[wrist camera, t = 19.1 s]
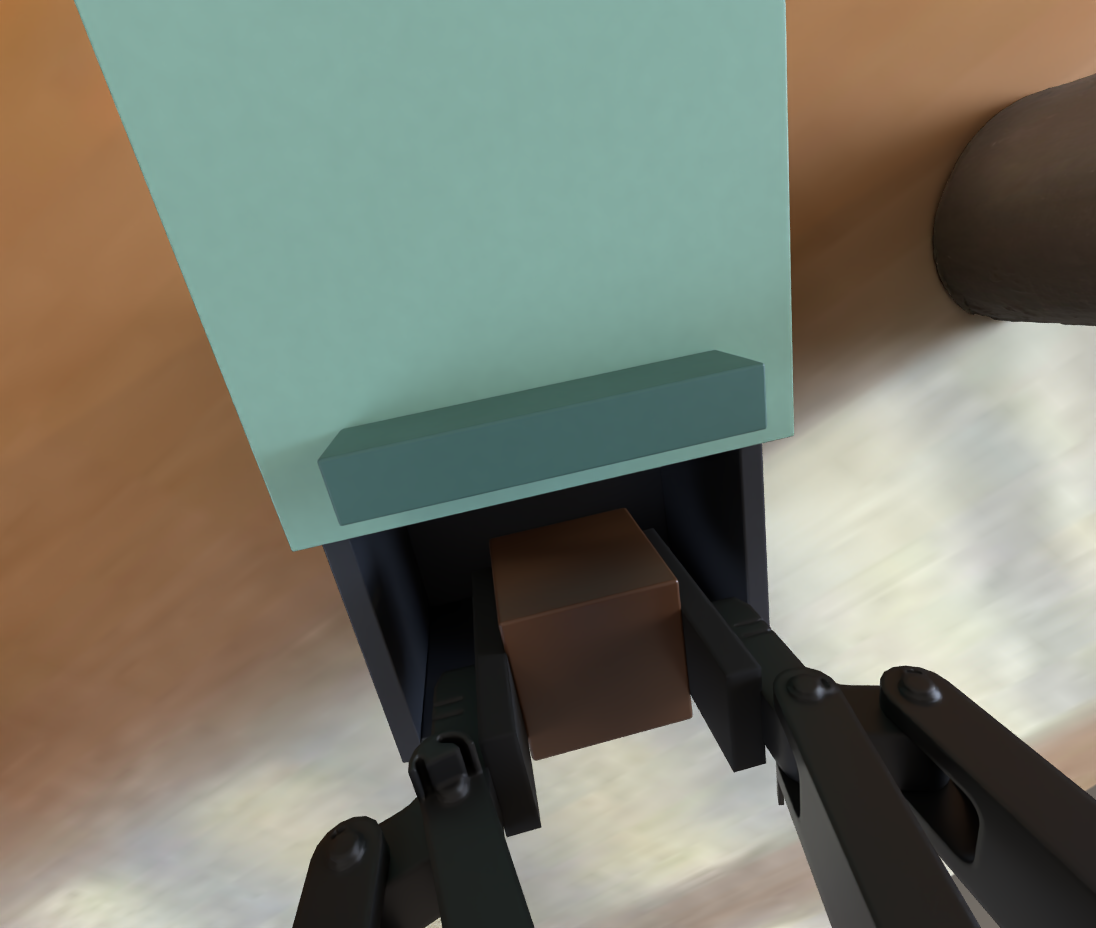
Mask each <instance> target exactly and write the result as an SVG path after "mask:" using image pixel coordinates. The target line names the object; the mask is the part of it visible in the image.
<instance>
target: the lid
mask: <svg viewBox="0 0 1096 928" xmlns="http://www.w3.org/2000/svg"><path fill="white" fill-rule="evenodd" d="M74 2H75V4H76V7H77V9H78V12H79V14H80V17H81V19H82V22H83V24H84V27H85V29H86V32H87V34H88V37H89V39H90V42H91V45H92V47H93V50H94V52H95V55H96V57H97V60H98V62H99V65H100V67H101V70H102V72H103V75H104V77H105V80H106V82H107V85H108V87H109V90H110V93H111V95H112V98H113V100H114V103H115V105H116V108H117V110H118V113H119V115H120V118H121V120H122V123H123V125H124V128H125V130H126V133H127V135H128V138H129V140H130V143H131V146H132V148H133V151H134V153H135V156H136V158H137V161H138V163H139V166H140V168H141V171H142V173H143V176H144V178H145V181H146V183H147V186H148V188H149V191H150V194H151V196H152V199H153V201H154V204H155V206H156V209H157V211H158V214H159V216H160V219H161V221H162V224H163V226H164V229H165V231H166V234H167V236H168V239H169V242H170V244H171V247H172V249H173V252H174V254H175V257H176V259H177V262H178V264H179V267H180V269H181V272H182V274H183V277H184V279H185V282H186V284H187V287H188V290H189V292H190V295H191V297H192V300H193V302H194V305H195V307H196V310H197V312H198V315H199V317H200V320H201V322H202V325H203V327H204V330H205V332H206V335H207V338H208V340H209V343H210V345H211V348H212V350H213V353H214V355H215V358H216V360H217V363H218V365H219V368H220V370H221V373H222V375H223V378H224V380H225V383H226V386H227V388H228V391H229V393H230V396H231V398H232V401H233V403H234V406H235V408H236V411H237V413H238V416H239V418H240V421H241V423H242V426H243V428H244V431H245V434H246V436H247V439H248V441H249V444H250V446H251V449H252V451H253V454H254V456H255V459H256V461H257V464H258V466H259V469H260V471H261V474H262V476H263V479H264V482H265V484H266V487H267V489H268V492H269V494H270V497H271V499H272V502H273V504H274V507H275V509H276V512H277V514H278V517H279V519H280V522H281V524H282V527H283V529H284V532H285V535H286V537H287V540H288V542H289V545H290V547H291V550H292V551H298V550H302V549H307V548H311V547H315V546H320V545H324V544H328V543H333V542H337V541H341V540H346V539H350V538H354V537H359V536H363V535H367V534H371V533H376V532H380V531H384V530H389V529H393V528H397V527H402V526H406V525H410V524H415V523H419V522H423V521H428V520H432V519H436V518H441V517H445V516H449V515H454V514H458V513H462V512H467V511H471V510H475V509H480V508H484V507H488V506H493V505H497V504H501V503H506V502H510V501H514V500H518V499H523V498H527V497H531V496H536V495H540V494H544V493H549V492H553V491H557V490H562V489H566V488H570V487H575V486H579V485H583V484H588V483H592V482H596V481H601V480H605V479H609V478H614V477H618V476H622V475H627V474H631V473H635V472H640V471H644V470H648V469H652V468H657V467H661V466H665V465H670V464H674V463H678V462H683V461H687V460H691V459H696V458H700V457H704V456H709V455H713V454H717V453H722V452H726V451H730V450H735V449H739V448H743V447H748V446H752V445H756V444H761V443H765V442H769V441H774V440H778V439H782V438H786V437H791V436H794V414H793V363H792V312H791V261H790V210H789V159H788V108H787V57H786V6H785V0H74Z"/></svg>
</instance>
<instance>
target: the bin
mask: <svg viewBox="0 0 1096 928" xmlns="http://www.w3.org/2000/svg"><path fill="white" fill-rule="evenodd" d="M620 508H626V509H627V511H628V512H629V513H630V515H631V516H632V518H633V519H634V520H635V522H636V523H637V524H638V526H639V527H640V529H641V530H642V531H643V530H647V529H651V528H654V530H655V531H656V532H657V533H658V535H659V536H660V537H661V539H662V540H663V541H664V542H665V544H666V545H667V546H668V548H669V549H670V550H671V551H672V553H673V554H674V555H675V557H676V558H677V559H678V560H679V562H680V563H681V564H682V566H683V567H684V568H685V569H686V571H687V572H688V573H689V575H690V576H691V577H692V578H693V580H694V581H695V582H696V584H697V585H698V586H699V587H700V589H701V590H702V591H703V593H704V594H705V595H706V596H707V598H708V599H709V600H710V602H714V601H718V600H722V599H726V598H729V597H733V596H734V597H736V598H738V599H740V600H742V601H743V602H745V603H747V604H749V605H751V606H752V607H753V609H754V610H755V611H756V612H757V613H758V614H759V615H760V616H761V618H762V620H764V621H765V622H766V623H767V624H768V625H769V627H770V624H769V600H768V576H767V552H766V529H765V505H764V481H763V457H762V443H761V444H756V445H752V446H748V447H743V448H739V449H735V450H730V451H726V452H722V453H717V454H713V455H709V456H704V457H700V458H696V459H691V460H687V461H683V462H678V463H674V464H670V465H665V466H661V467H657V468H652V469H648V470H644V471H640V472H635V473H631V474H627V475H622V476H618V477H614V478H609V479H605V480H601V481H596V482H592V483H588V484H583V485H579V486H575V487H570V488H566V489H562V490H557V491H553V492H549V493H544V494H540V495H536V496H531V497H527V498H523V499H518V500H514V501H510V502H506V503H501V504H497V505H493V506H488V507H484V508H480V509H475V510H471V511H467V512H462V513H458V514H454V515H449V516H445V517H441V518H436V519H432V520H428V521H423V522H419V523H415V524H410V525H406V526H402V527H397V528H393V529H389V530H384V531H380V532H376V533H371V534H367V535H363V536H359V537H354V538H350V539H346V540H341V541H337V542H333V543H328V544H324V545H322V546H323V549H324V551H325V554H326V557H327V559H328V562H329V565H330V567H331V570H332V573H333V575H334V578H335V581H336V583H337V586H338V589H339V592H340V594H341V597H342V600H343V602H344V605H345V608H346V610H347V613H348V616H349V618H350V621H351V624H352V627H353V629H354V632H355V635H356V637H357V640H358V643H359V645H360V648H361V651H362V653H363V656H364V659H365V662H366V664H367V667H368V670H369V672H370V675H371V678H372V680H373V683H374V686H375V688H376V691H377V694H378V696H379V699H380V702H381V705H382V707H383V710H384V713H385V715H386V718H387V721H388V723H389V726H390V729H391V731H392V734H393V737H394V740H395V742H396V745H397V748H398V750H399V753H400V756H401V758H402V761H403V763H405V762H409V760H410V758H411V756H412V754H413V752H414V750H415V749H416V748H417V747H418V746H419V745H420V744H421V742H422V741H423V740H425V739H426V738H428V737H430V736H431V728H432V721H433V720H432V712H433V695H434V687H435V685H436V683H437V682H438V680H439V678H440V676H441V674H442V672H445V671H449V670H453V669H457V668H461V667H464V666H468V665H472V664H475V650H474V627H473V604H472V581H471V572H472V571H476V570H481V569H485V568H489V567H492V565H491V557H490V548H489V540H490V539H492V538H496V537H501V536H505V535H509V534H513V533H518V532H522V531H526V530H530V529H535V528H539V527H543V526H548V525H552V524H556V523H560V522H565V521H569V520H573V519H577V518H582V517H586V516H590V515H594V514H599V513H603V512H607V511H612V510H616V509H620Z"/></svg>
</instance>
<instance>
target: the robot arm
mask: <svg viewBox="0 0 1096 928" xmlns="http://www.w3.org/2000/svg"><path fill="white" fill-rule="evenodd" d="M643 533H644V534H645V535H646V537H647V538H648V540H649V541H650V542H651V544H652V545H653V547H654V548H655V549H656V551H657V552H658V553H659V555H660V556H661V558H662V559H663V560H664V562H665V563H666V565H667V566H668V567H669V569H670V570H671V571H672V573H673V574H674V576H675V577H676V578H677V580H678V583H679V593H680V602H681V613H682V623H683V632H684V641H685V650H686V660H687V669H688V678H689V688H690V694H691V696H692V698H693V700H694V702H695V703H696V705H697V707H698V709H699V711H700V712H701V714H702V716H703V718H704V720H705V721H706V723H707V725H708V727H709V729H710V730H711V732H712V734H713V736H714V738H715V739H716V741H717V743H718V745H719V747H720V748H721V750H722V752H723V754H724V756H725V757H726V759H727V761H728V763H729V765H730V766H731V768H732V770H733V772H737V771H741V770H744V769H748V768H751V767H755V766H758V765H762V764H765V763H766V755H765V745H766V747H767V748H768V750H769V751H770V753H771V754H772V756H773V757H774V759H775V761H776V772H777V796H778V803H779V805H784V798H785V801H786V804H787V807H788V809H789V812H790V815H791V817H792V820H793V823H794V826H795V828H796V831H797V834H798V836H799V839H800V842H801V845H802V847H803V850H804V853H805V856H806V858H807V861H808V864H809V866H810V869H811V872H812V875H813V877H814V880H815V883H816V885H817V888H818V891H819V894H820V896H821V899H822V902H823V904H824V907H825V910H826V913H827V915H828V918H829V921H830V924H831V926H832V928H981V927H980V925H979V924H978V922H977V920H976V919H975V917H974V915H973V913H972V912H971V910H970V908H969V906H968V905H967V903H966V901H965V900H964V898H963V896H962V895H961V893H960V891H959V890H958V888H957V886H956V884H955V883H954V881H953V879H952V878H951V876H950V874H949V873H948V871H947V869H946V867H945V866H944V864H943V862H942V861H941V859H940V857H941V858H942V860H943V861H944V862H945V863H946V864H947V866H948V867H949V868H950V869H951V870H952V871H953V873H954V874H955V875H956V876H957V877H958V878H959V879H960V881H961V882H962V883H963V884H964V885H965V887H966V888H967V889H968V890H969V891H970V893H971V894H972V895H973V896H974V897H975V898H976V900H978V902H979V903H980V904H981V905H982V907H983V908H984V909H985V910H986V911H987V912H988V914H989V915H990V916H991V917H992V918H993V920H994V921H995V922H996V923H997V924H998V925H999V927H1000V928H1096V800H1095V799H1094V798H1093V797H1092V796H1090V795H1089V794H1088V793H1087V792H1085V791H1084V790H1083V789H1082V788H1080V787H1079V786H1078V785H1077V784H1075V783H1074V782H1073V781H1072V780H1070V779H1069V778H1068V777H1067V776H1065V775H1064V774H1063V773H1062V772H1060V771H1059V770H1058V769H1057V768H1055V767H1054V766H1053V765H1052V764H1050V763H1049V762H1048V761H1047V760H1046V759H1044V758H1043V757H1042V756H1041V755H1039V754H1038V753H1037V752H1036V751H1034V750H1033V749H1032V748H1031V747H1029V746H1028V745H1027V744H1026V743H1024V742H1023V741H1022V740H1021V739H1019V738H1018V737H1017V736H1016V735H1014V734H1013V733H1012V732H1011V731H1009V730H1008V729H1007V728H1006V727H1004V726H1003V725H1002V724H1001V723H1000V722H998V721H997V720H996V719H995V718H993V717H992V716H991V715H990V714H988V713H987V712H986V711H985V710H983V709H982V708H981V707H980V706H978V705H977V704H976V703H975V702H973V701H972V700H971V699H970V698H968V697H967V696H966V695H965V694H963V693H962V692H961V691H960V690H958V689H957V688H956V687H955V686H953V685H952V684H951V683H950V682H949V681H947V680H946V679H944V678H942V677H941V676H939V675H938V674H936V673H934V672H931V671H928V670H926V669H923V668H920V667H912V666H899V667H893V668H891V669H889V670H887V671H885V672H884V673H883V675H882V677H881V679H880V686H870V685H841V684H837V683H835V681H834V680H833V679H832V678H831V677H829V676H827V675H826V674H824V673H822V672H821V671H818V670H814V669H811V668H806V667H805V666H804V665H803V664H802V663H801V661H800V660H799V659H798V658H797V657H796V656H795V655H794V654H793V652H792V651H791V650H790V649H789V648H788V647H787V646H786V645H785V643H784V642H783V641H782V640H781V639H780V638H779V637H778V636H777V634H776V633H775V632H774V631H773V630H771V628H770V627H769V625H768V624H767V623H766V622H765V621H764V620H762V618H761V616H760V615H759V614H758V613H757V612H756V611H755V610H754V609H753V607H752V606H751V605H749V604H747V603H745V602H743V601H742V600H740V599H738V598H736V597H734V596H733V597H729V598H726V599H722V600H718V601H714V602H710V600H709V599H708V598H707V596H706V595H705V594H704V593H703V591H702V590H701V589H700V587H699V586H698V585H697V584H696V582H695V581H694V580H693V578H692V577H691V576H690V575H689V573H688V572H687V571H686V569H685V568H684V567H683V566H682V564H681V563H680V562H679V560H678V559H677V558H676V557H675V555H674V554H673V553H672V551H671V550H670V549H669V548H668V546H667V545H666V544H665V542H664V541H663V540H662V539H661V537H660V536H659V535H658V533H657V532H656V531H655V530H654V528H651V529H647V530H643ZM471 581H472V604H473V627H474V650H475V664H472V665H468V666H464V667H461V668H457V669H453V670H449V671H445V672H442V674H441V676H440V678H439V680H438V682H437V683H436V685H435V687H434V695H433V712H432V720H433V721H432V728H431V736H430V737H428V738H426V739H425V740H423V741H422V742H421V744H420V745H419V746H418V747H417V748H416V749H415V750H414V752H413V754H412V756H411V758H410V760H409V768H408V773H409V776H410V778H411V781H412V784H413V787H414V789H415V792H416V795H417V797H416V798H415V799H414V800H413V801H412V802H411V803H410V804H409V805H408V806H407V807H405V808H404V809H403V810H401V811H400V812H398V813H397V814H395V815H393V816H392V817H390V818H388V819H387V820H385V821H383V822H381V823H380V824H378V823H377V822H376V820H374V819H371V818H369V817H367V816H362V817H353V818H350V819H348V820H346V821H343V822H341V823H339V824H338V825H337V826H336V827H334V828H333V829H332V830H330V831H329V832H328V833H327V834H326V835H325V836H324V838H323V839H322V840H321V841H320V843H319V844H318V845H317V847H316V849H315V851H314V854H313V856H312V858H311V861H310V864H309V868H308V872H307V875H306V879H305V883H304V887H303V890H302V894H301V898H300V901H299V905H298V909H297V912H296V916H295V920H294V924H293V927H292V928H425V927H426V926H428V925H429V924H431V923H432V922H434V921H435V920H436V919H438V918H439V917H441V922H442V928H534V925H533V922H532V919H531V916H530V913H529V910H528V907H527V904H526V901H525V898H524V895H523V892H522V888H521V885H520V882H519V879H518V876H517V873H516V870H515V867H514V864H513V861H512V858H511V855H510V852H509V849H508V846H507V843H506V840H505V837H504V829H505V833H506V836H507V837H509V836H513V835H516V834H520V833H523V832H527V831H530V830H534V829H537V828H541V822H540V815H539V809H538V802H537V795H536V789H535V782H534V775H533V769H532V762H531V756H530V749H529V742H528V737H527V733H526V729H525V725H524V721H523V717H522V713H521V709H520V705H519V701H518V697H517V694H516V690H515V686H514V682H513V678H512V674H511V670H510V666H509V662H508V658H507V654H506V652H505V650H504V646H503V642H502V638H501V634H500V630H499V626H498V618H497V609H496V600H495V592H494V583H493V574H492V567H489V568H485V569H481V570H476V571H472V572H471ZM938 855H939V856H940V857H939V856H938Z"/></svg>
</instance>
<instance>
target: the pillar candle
mask: <svg viewBox="0 0 1096 928" xmlns="http://www.w3.org/2000/svg"><path fill="white" fill-rule="evenodd" d="M934 231H935V232H934V235H933V245H934V253H935V256H934V259H935V261H936V262H937V266H936V267H937V268H938V273H939V275H940V278H941V280H942V282H943V285H944V287H945V289H946V290H947V291H948V292H949V293H950V294H951V297H953V298H954V300H955V301H956V303H957V304H958V305H959V306H960V307H962V308H963V309H964V310H966V312H968V313H970V314H973V315H974V314H979V315H982V316H983V315H986V316H989V317H991V318H992V319H996V320H1001V321H1011V322H1036V323H1061V324H1064V325H1086V326H1096V74H1093V75H1090V76H1088V77H1085V78H1081V79H1078V80H1076V81H1073V82H1070V83H1067V84H1063V85H1060V86H1057V87H1052V88H1048V89H1046V90H1043V91H1040V92H1038V93H1035V94H1032V95H1029V96H1026V97H1024V98H1022V99H1020V100H1018V101H1017V102H1015V103H1013V104H1011V105H1010V106H1008V107H1007V108H1005V109H1004V110H1002V111H1001V112H999V113H998V114H997V115H995V116H994V117H993V118H992V119H991V120H990V121H989V122H987V123H986V125H985V126H984V127H983V128H981V129H980V131H979V132H978V133H977V134H976V135H975V136H974V137H973V138H972V140H971V141H970V142H969V143H968V145H967V146H966V148H965V150H964V152H963V153H962V154H961V156H960V157H959V159H958V161H957V163H956V165H955V167H954V169H953V171H952V174H951V176H950V178H949V180H948V182H947V184H946V187H945V189H944V192H943V195H942V198H941V200H940V203H939V205H938V210H937V213H936V218H935V223H934Z"/></svg>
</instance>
